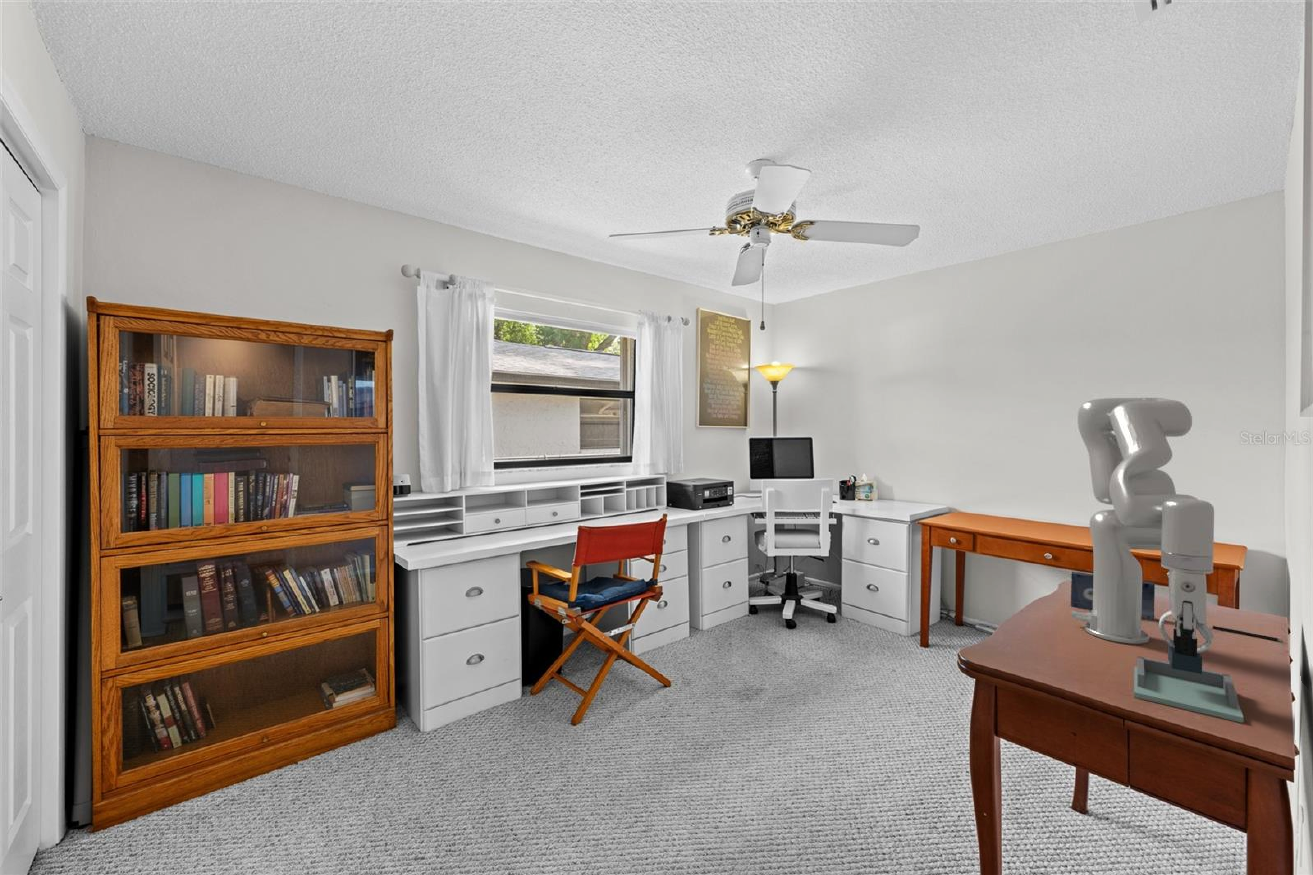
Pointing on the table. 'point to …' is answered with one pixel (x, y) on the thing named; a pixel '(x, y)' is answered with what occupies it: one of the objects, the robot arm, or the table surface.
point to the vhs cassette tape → (1084, 594)
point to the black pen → (1248, 634)
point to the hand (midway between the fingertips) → (1184, 652)
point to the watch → (1183, 660)
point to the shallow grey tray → (1187, 689)
